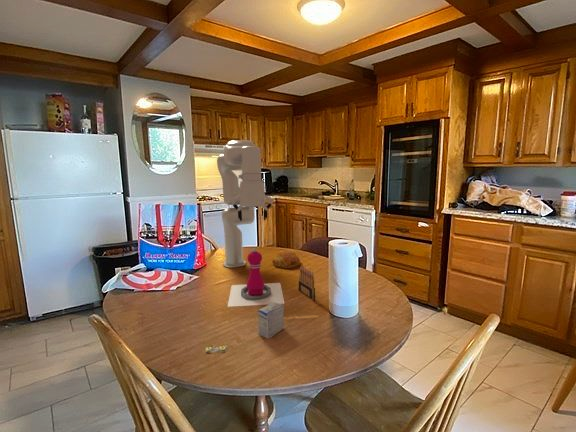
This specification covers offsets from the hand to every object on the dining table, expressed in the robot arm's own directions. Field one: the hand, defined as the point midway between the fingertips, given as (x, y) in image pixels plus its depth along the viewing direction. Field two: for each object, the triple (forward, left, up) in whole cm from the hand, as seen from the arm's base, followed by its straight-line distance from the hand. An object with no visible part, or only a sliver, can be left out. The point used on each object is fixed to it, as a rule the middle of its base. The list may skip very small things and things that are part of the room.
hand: (252, 220), depth 129 cm
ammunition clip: (+4, +22, -32) cm, 39 cm away
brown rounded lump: (-38, +17, -33) cm, 53 cm away
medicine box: (+31, +6, -32) cm, 45 cm away
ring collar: (+1, +1, -31) cm, 31 cm away
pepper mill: (+2, 0, -32) cm, 32 cm away
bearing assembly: (+39, -11, -33) cm, 52 cm away
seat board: (+1, +1, -32) cm, 32 cm away
